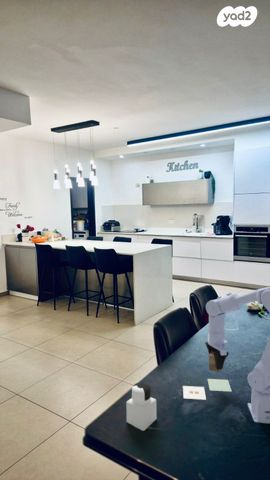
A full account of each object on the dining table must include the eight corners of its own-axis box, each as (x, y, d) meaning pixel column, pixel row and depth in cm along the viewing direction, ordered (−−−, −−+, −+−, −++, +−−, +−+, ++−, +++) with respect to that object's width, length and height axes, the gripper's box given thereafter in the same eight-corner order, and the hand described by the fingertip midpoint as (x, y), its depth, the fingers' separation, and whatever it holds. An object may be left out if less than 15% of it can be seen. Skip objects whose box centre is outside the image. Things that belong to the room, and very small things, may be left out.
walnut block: (219, 372, 117) (219, 357, 117) (209, 370, 119) (208, 355, 118) (222, 367, 121) (222, 352, 120) (211, 365, 123) (211, 350, 122)
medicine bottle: (139, 411, 107) (139, 377, 106) (156, 419, 102) (156, 385, 101) (126, 422, 101) (125, 387, 100) (143, 432, 97) (143, 395, 96)
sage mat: (231, 392, 117) (231, 391, 117) (209, 391, 118) (209, 390, 118) (227, 380, 125) (227, 379, 125) (207, 379, 126) (207, 378, 126)
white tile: (206, 400, 112) (206, 399, 112) (183, 399, 113) (183, 398, 113) (203, 388, 120) (203, 386, 120) (182, 386, 121) (182, 385, 121)
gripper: (235, 337, 112) (234, 374, 113) (219, 323, 126) (219, 355, 127) (215, 338, 111) (215, 375, 112) (202, 324, 125) (202, 356, 127)
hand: (216, 364), depth 120 cm, fingers closed on walnut block, 6 cm apart
